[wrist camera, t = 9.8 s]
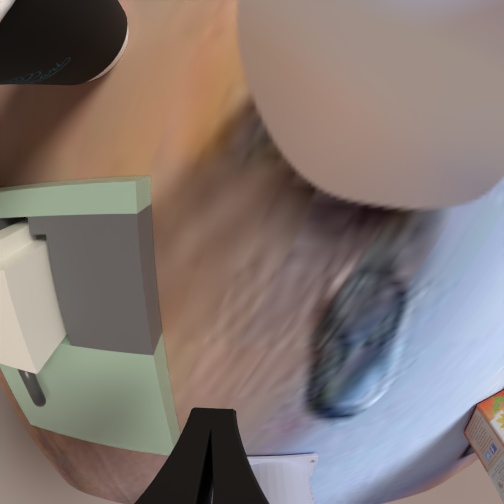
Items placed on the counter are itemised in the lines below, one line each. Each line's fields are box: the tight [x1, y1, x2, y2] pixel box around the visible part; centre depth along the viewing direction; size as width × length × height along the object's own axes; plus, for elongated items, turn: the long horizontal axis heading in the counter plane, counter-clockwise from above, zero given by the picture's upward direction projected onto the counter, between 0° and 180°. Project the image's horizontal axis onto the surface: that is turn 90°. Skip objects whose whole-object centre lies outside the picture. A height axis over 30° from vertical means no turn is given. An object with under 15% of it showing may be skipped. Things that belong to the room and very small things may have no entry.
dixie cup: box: [0, 0, 128, 85], centre depth 8 cm, size 8×8×11 cm
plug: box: [0, 218, 67, 407], centre depth 15 cm, size 11×4×6 cm, turn 178°
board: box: [0, 176, 180, 455], centre depth 17 cm, size 20×14×2 cm
